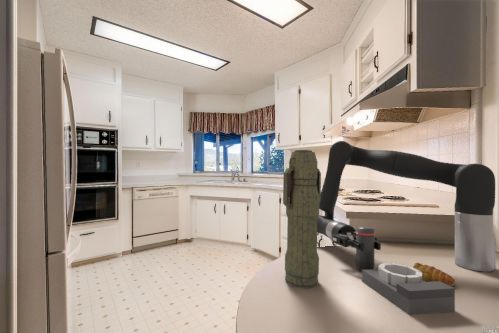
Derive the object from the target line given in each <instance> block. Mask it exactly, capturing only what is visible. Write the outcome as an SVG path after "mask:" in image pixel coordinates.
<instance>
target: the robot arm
mask: <svg viewBox="0 0 499 333" xmlns="http://www.w3.org/2000/svg"><path fill="white" fill-rule="evenodd" d="M348 165H349V166H355V167H362V168H367V169H370V170H373V171H376V172H378V173H383V174H387V175H389V176H395V177H398V178H399V177H400V178H404V179H411V180H420V181H429V182H436V183H438V184H442V185H443V184H444V185H448V186H451V187H454V188H455V190H456V191H455V202H454V263H455V265H457V266H459V267H462V268H465V269H467V270H472V271H478V272H486V273H491V272H494V270H496V269H497V266H496V265H497V260H496V259H497V258H496V257H497V256H496V246H497V244H496V239H495V237H494V208H495V205H496V176H495V173H494V172H493V170H492V169H491V168H490V167H488V166H487V165H484V164H481V163H468V164H460V163H453V162H452V163H450V162H443V161H438V160H434V159H431V158H428V157H424V156H422V155H418V154H414V153H410V152H402V151H397V150H389V149H388V150H386V149H366V148H363V147H362V148H361V147H357V146H354V145H352V144H350V143H349V142H348V141H345V140H338V141H335V142H333V143H332V145H331V146H330V148H329V152H328V160H327V167H326V173H325V177H324V181H323V184H322V187H321V199H320V205H319V211H322V212H324V215H321V214H319V217H318V219H317V234H320V235H323V236H325V237H327V238H329V239H330V240H331V241H332V243H333V244H336V245H338V246H341V247H344V248H349V247H350V248H352V249H353V248H354V249H355V250H356V249H358V250H360V251H363V243H361V242H359V241H357V240H356V228H354V226H352V225H350V224H347V223H345V222H342V221H337V220H334V218H335V217H334V216H335V215H334V214H335V213H334V212H335V207H336V204H337V200H338V197H339V193H340V186H341V185H340V184H341V181H342V180H341V179H342V175H343V172H344V169H345V167H346V166H348ZM381 246H382V245H381V242H380V241H378V237H376V236H375V235H374V250H377V251H381V248H382V247H381Z"/></svg>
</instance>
